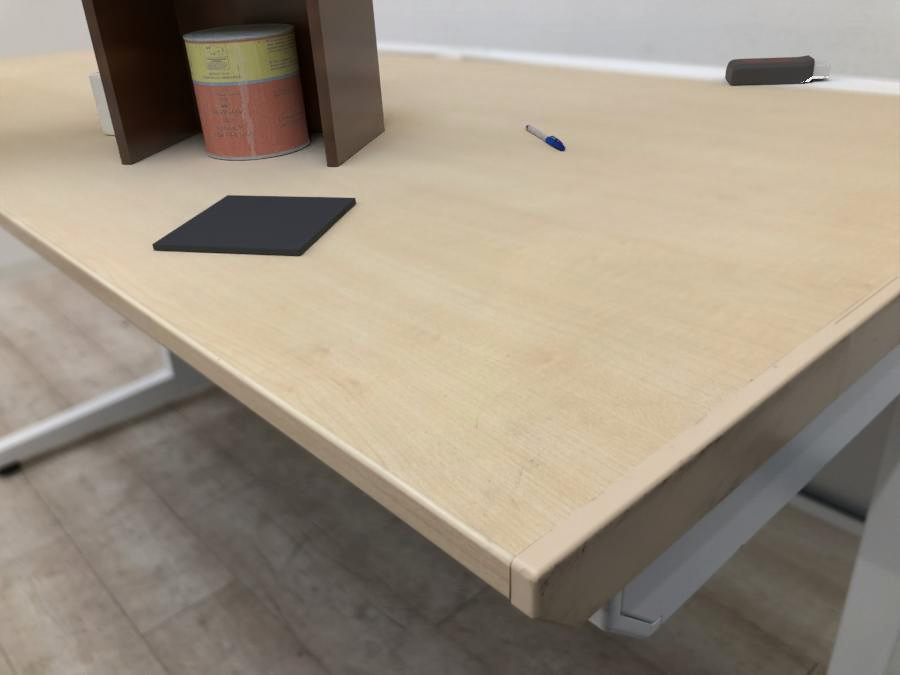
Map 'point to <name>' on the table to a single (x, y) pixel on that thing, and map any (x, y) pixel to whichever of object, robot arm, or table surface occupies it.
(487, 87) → the table surface
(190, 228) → the mat
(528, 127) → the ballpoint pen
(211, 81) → the canned food
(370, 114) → the cubby
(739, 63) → the usb drive
